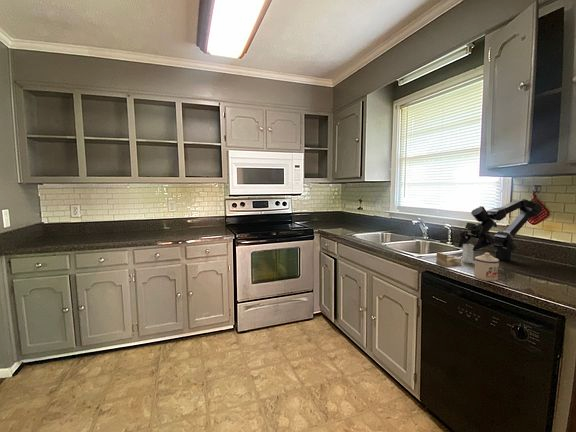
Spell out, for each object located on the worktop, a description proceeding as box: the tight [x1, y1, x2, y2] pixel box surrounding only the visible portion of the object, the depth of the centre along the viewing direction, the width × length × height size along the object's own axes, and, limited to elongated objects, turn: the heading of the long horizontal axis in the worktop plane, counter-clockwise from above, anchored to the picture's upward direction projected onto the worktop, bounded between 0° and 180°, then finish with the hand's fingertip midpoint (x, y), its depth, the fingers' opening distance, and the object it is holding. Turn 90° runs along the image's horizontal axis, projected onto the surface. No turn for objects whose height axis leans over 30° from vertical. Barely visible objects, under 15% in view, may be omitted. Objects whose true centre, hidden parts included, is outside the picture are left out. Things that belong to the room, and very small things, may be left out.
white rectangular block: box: [461, 243, 475, 264], centre depth 152 cm, size 4×3×10 cm
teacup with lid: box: [473, 252, 500, 282], centre depth 126 cm, size 12×9×12 cm
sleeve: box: [435, 251, 462, 267], centre depth 150 cm, size 10×6×6 cm, turn 103°
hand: (465, 248), depth 152 cm, fingers open, 9 cm apart
